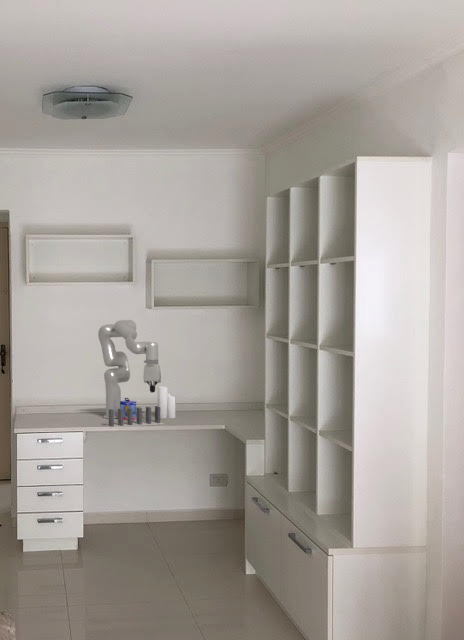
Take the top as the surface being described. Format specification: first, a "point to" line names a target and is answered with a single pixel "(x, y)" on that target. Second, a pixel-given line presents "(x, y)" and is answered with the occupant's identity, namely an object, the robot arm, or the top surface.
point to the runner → (134, 424)
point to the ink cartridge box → (128, 404)
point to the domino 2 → (120, 416)
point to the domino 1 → (111, 417)
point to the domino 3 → (129, 416)
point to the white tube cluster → (166, 403)
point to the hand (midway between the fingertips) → (152, 392)
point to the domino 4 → (139, 415)
